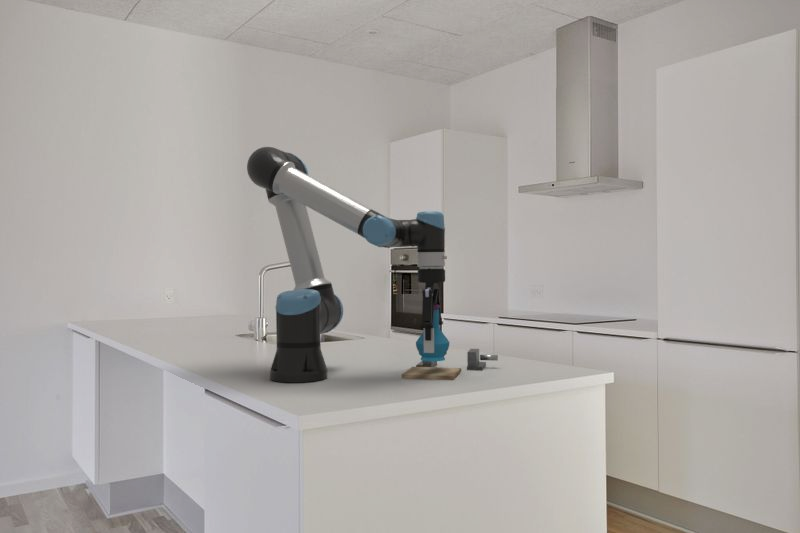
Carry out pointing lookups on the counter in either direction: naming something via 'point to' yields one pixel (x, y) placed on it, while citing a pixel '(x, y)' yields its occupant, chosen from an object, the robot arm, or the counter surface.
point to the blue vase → (439, 341)
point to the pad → (432, 373)
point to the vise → (471, 360)
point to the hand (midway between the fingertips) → (432, 350)
